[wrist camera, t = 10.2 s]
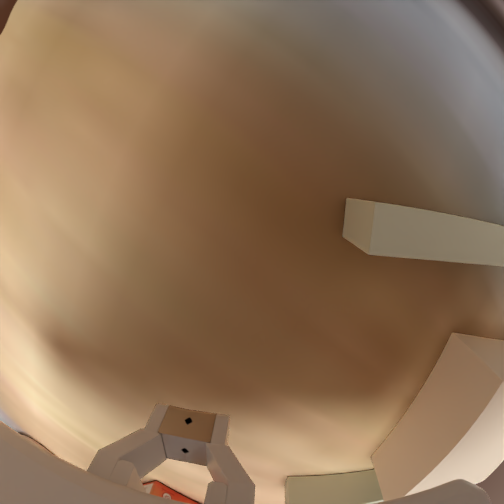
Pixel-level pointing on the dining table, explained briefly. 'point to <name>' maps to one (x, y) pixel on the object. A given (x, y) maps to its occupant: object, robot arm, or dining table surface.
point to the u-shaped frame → (404, 246)
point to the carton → (449, 422)
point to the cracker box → (165, 492)
